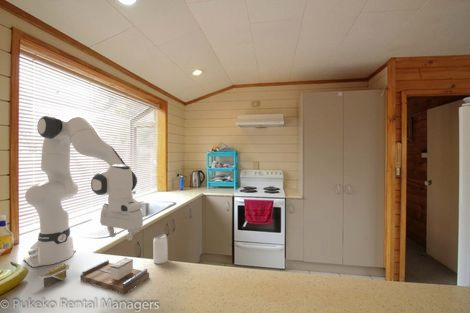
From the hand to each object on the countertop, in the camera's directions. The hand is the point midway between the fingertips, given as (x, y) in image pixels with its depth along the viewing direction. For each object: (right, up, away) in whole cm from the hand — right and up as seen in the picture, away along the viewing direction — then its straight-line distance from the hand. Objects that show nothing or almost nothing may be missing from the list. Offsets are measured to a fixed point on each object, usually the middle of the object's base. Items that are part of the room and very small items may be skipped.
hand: (120, 238), depth 89 cm
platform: (-26, -18, 0) cm, 32 cm away
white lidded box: (+1, -15, 0) cm, 15 cm away
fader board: (-3, -17, +2) cm, 18 cm away
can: (+11, -17, +16) cm, 26 cm away
